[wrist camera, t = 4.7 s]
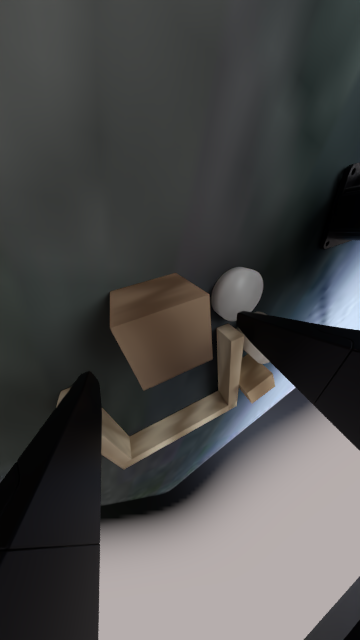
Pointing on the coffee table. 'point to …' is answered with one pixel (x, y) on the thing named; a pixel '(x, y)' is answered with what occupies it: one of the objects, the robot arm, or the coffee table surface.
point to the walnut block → (162, 327)
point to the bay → (184, 421)
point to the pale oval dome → (253, 348)
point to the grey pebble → (236, 292)
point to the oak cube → (254, 379)
